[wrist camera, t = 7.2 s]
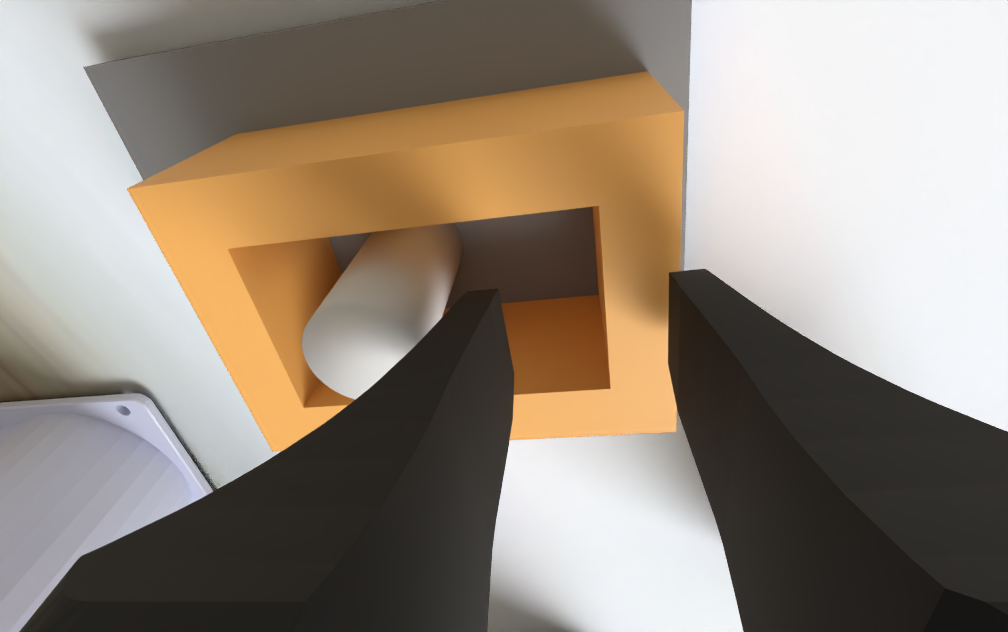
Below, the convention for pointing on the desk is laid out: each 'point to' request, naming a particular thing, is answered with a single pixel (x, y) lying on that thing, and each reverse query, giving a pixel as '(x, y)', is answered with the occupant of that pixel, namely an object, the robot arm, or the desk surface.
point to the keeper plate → (396, 85)
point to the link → (431, 201)
